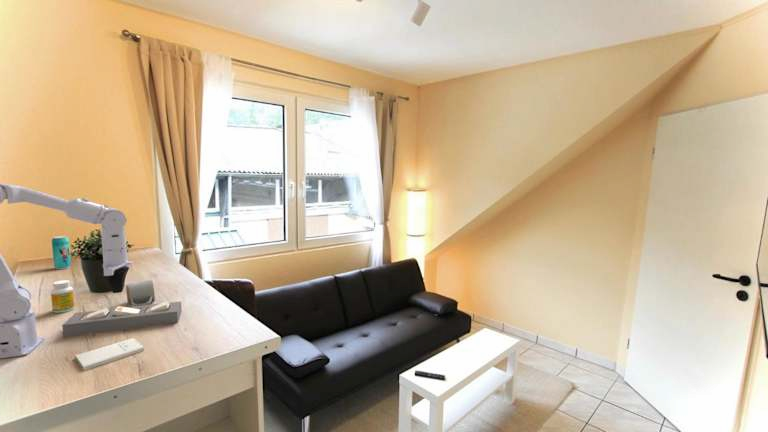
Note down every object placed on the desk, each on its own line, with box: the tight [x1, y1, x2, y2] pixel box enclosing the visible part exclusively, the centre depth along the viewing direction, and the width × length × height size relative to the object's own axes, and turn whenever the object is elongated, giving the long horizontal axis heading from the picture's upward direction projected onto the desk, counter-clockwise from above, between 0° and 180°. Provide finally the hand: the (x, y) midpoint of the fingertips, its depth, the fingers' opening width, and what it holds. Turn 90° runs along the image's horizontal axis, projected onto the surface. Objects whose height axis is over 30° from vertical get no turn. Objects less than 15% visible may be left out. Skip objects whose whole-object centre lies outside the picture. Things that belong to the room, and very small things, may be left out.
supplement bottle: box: [50, 279, 75, 314], centre depth 115 cm, size 5×5×10 cm
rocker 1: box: [81, 307, 109, 320], centre depth 103 cm, size 4×6×2 cm, turn 114°
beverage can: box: [51, 235, 72, 270], centre depth 160 cm, size 6×6×15 cm
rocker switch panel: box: [61, 301, 183, 338], centre depth 107 cm, size 9×28×4 cm, turn 114°
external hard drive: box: [74, 337, 145, 371], centre depth 89 cm, size 2×8×12 cm
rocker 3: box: [146, 300, 170, 312], centre depth 110 cm, size 4×6×2 cm, turn 114°
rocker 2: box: [113, 305, 141, 316], centre depth 106 cm, size 4×6×2 cm, turn 114°
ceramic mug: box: [125, 278, 156, 307], centre depth 122 cm, size 11×8×8 cm
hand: (117, 292), depth 105 cm, fingers closed
